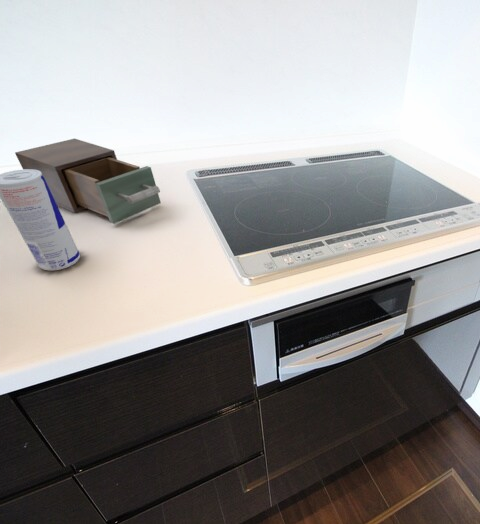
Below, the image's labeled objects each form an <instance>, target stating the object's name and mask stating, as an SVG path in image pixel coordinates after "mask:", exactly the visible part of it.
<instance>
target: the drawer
mask: <svg viewBox="0 0 480 524" xmlns="http://www.w3.org/2000/svg"><path fill="white" fill-rule="evenodd" d="M62 171H63V173H64V175H65V178H66V180H67V182H68V184H69V187H70V189H71V191H72V194H73V196H74V198H75V201H76V203H77V204H78V205H80V206H83V207H85V208H87V209H88V210H90V211H92V212H95V213H97V214H100V215H103V216H104V217H107V218H108V221H109V222H110V223H111V224H116V223H118V222H121V221H123V220H126V219H128V218H130V217H132V216H134V215H137V214H139V213H142V212H143V211H146V210H148V209H151V208H153V207H156V206H157V205H160V204H161V203H162V202H161V197H160V192H161V190H160V188H159V186H158V185H156V181H155V178H154V174H153V170H152V167H151V166H149V165H146V166H143V167H140V166H138V165H134V164H132V163H129V162H126V161H122V160H119V159H113V158H110V157H104V158H101V159H97V160H94V161H90V162H87V163H83V164H80V165H77V166H73V167H70V168H66V169H63V170H62ZM87 209H86V210H87Z"/></svg>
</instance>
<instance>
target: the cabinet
mask: <svg viewBox="0 0 480 524" xmlns="http://www.w3.org/2000/svg"><path fill="white" fill-rule="evenodd" d="M14 154H15V156H16V158H17V160H18V162H19V164H20V166H21V169H22V170H23V169H33V170H38V171H40V172H41V173H42V176H43V177H44V178H45V181H46V183H47V185H48V187H49V189H50V191H51V193H52V195H53V198H54V200H55V202H56V204H57V206H58V207H59V208H62V209H64V210H66V211H69V212H71V213H74V214H77V213H79V212H82V211H84V210H87V208H85V207H83V206H80V205H78V204H77V203H76V201H75V198H74V196H73V194H72V191H71V189H70V187H69V184H68V182H67V180H66V178H65V175H64V173H63V171H62V170H63V169H66V168H70V167H73V166H77V165H80V164H83V163H87V162H90V161H94V160H97V159H101V158H104V157H110V158H113V159H117V155H116V152H115V149H111V148H107V147H104V146H101V145H97V144H94V143H91V142H87V141H85V140H81V139H78V138H71V139H66V140H62V141H58V142H53V143H50V144H49V143H48V144H46V145H41V146H37V147H33V148H28V149H23V150H19V151H15V152H14ZM117 160H118V159H117Z"/></svg>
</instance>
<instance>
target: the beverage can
mask: <svg viewBox="0 0 480 524" xmlns="http://www.w3.org/2000/svg"><path fill="white" fill-rule="evenodd" d="M0 199H1V201H2V203H3V205H4V207H5V208H6V211H7V213H8V214H9V216H10V217H11V219H12V221H13V223H14V225H15V226H16V229H17V230H18V232H19V234H20V235H21V237H22V239H23V241H24V243H25V244H26V246H27V248H28V249H29V251H30V253H31V255H32V256H33V258H34V260H35V262H36V264H37V265H38V267H39V268H40V269H42V270H44V271H59V270H64V269H66V268H69V267H71V266H73V265H74V264H76V263H77V262H78V261H79V259H80V258H81V253H80V251H79V249H78V247H77V244H76V242H75V240H74V238H73V236H72V234H71V232H70V229H69V228H68V224H67V223H66V221H65V219H64V216H63V215H62V212H61V211H60V207H59V206H57V204H56V202H55V200H54V198H53V195H52V193H51V191H50V189H49V187H48V185H47V183H46V181H45V178H44V177H43V176H42V173H41V172H40V171H38V170H33V169H23V168H22V169H15V170H10V171H5V172H3V173H0Z"/></svg>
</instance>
